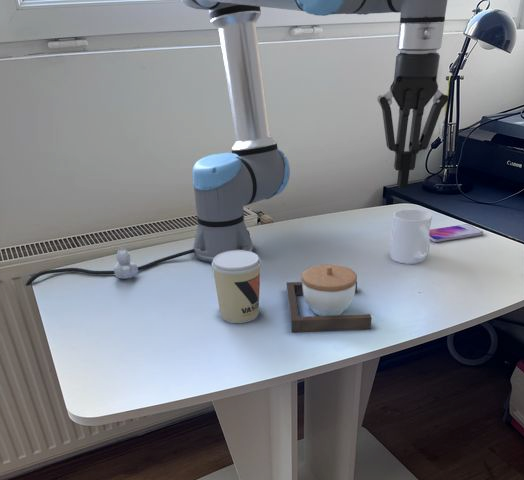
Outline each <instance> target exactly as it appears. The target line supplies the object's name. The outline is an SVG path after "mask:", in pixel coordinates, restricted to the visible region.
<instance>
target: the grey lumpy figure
mask: <svg viewBox="0 0 524 480" xmlns="http://www.w3.org/2000/svg"><path fill="white" fill-rule="evenodd" d="M115 256H116V261H117V262H116V264H115V265H114V266H113V271H114V273H115V274H114V276H116V277H117V278H119V279H125V280H126V279H131V278H133V277H135V276H136V275H137V274H138V272H139V271H138V267H139V266H138V265H137V263H136V262H135V261H133V260H131V254H130V252H129V251H128V250H127V248H123V246H122V245H120V249H118V250H117V253H116V255H115Z"/></svg>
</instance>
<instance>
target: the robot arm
mask: <svg viewBox="0 0 524 480" xmlns="http://www.w3.org/2000/svg"><path fill="white" fill-rule="evenodd" d="M179 1H180V2H181V3H183V4H184V5H185V6H187V7H189V8H191V9H194V10H203V11H204V10H207V11H208V15H209V19H210V20H209V21H210V23H211V24H212V25H213V27H215V28H216V29H217V30H218V33H219V35H218V36H219V40H220V47H221V53H222V59H223V60H222V61H223V66H224V73H225V78H226V85H227V86H226V87H227V92H228V97H229V104H230V109H231V116H232V125H233V131H234V135H235V142H234V144H233V145H232V147H231V152H220V153H217V154H216V153H214V154H210V155H209V154H208V155H206V156H204V157H202V158H200V159H198V160H197V161H196V162H195V163H194V165H193V167H192V186H193V190H194V201H195V210H196V219H197V226H196V232H195V237H194V242H193V248H192V249H188V250H184V251H181V252H177V253H175V254H171V255H167V256H165V257H162V258H159V259H156V260H154V261H151V262H149V263H146V264H143V265H140V266H137V267H138V272H139V271H142V270H146V269H148V268H151V267H153V266H156V265H158V264H161V263H163V262H166V261H170V260H174V259H176V258H179V257H183V256H187V255H190V254H193V256H194V257H195V258H196V259H197V260H199V261H200V262H204V263H210V264H212V262H213V259H214V257H215V256H217V255H218V254H220V253H223V252H227V251H233V250H244V251H250V252H253V253H254V245H253V241H252V239H251V234H250V231H249V230H248V229H247V226H246V223H245V215H244V207H245V206H246V207H247V206H249V205H251V204H255V203H257V202H261V201H264V200H269V199H272V198H273V197H275V196H277V195H279V194H281V193H282V192H283V191H284V190H285V188H286V187H287V185H288V183H289V180H290V175H291V173H290V172H291V168H290V162H289V160H288V159H289V158H288V157H287V156H285V153H284V152H283V151H282V150H281V149H279V148H278V141H277V140H276V139H274V138H273V137H272V136H271V133H270V126H269V117H268V111H267V103H266V102H267V101H266V94H265V86H264V78H263V71H262V64H261V63H262V62H261V55H260V49H259V48H260V46H259V41H258V39H259V38H258V33H257V32H258V31H257V25H256V24H257V22H258V20H259V19H260V17H261V15H262V12H261V11H262V10H261V8H270V9H279V10H280V9H281V10H288V11H297V12H304V13H306V14H308V15H314V16H319V17H320V16H321V17H322V16H325V17H326V16H329V15H331V16H332V15H364V16H365V15H369V14H370V15H371V14H372V15H373V14H388V13H389V14H390V13H400V17H399V29H398V37H397V46H396V47H397V50H398V51H400V52H399V53H398V54H397V55H396V56H395V65H394V75H393V81H392V83H391V85H390V87H389V90H388V91H387V92H385V93H384V94H381V95H378V97H377V98H376V99H377V102H378V104H379V106H380V108H381V112H382V113H381V114H382V120H383V129H384V135H385V141H386V142H385V144H386V147H387V149H388V150H389V151H391V152H394V153H395V154H394V161H393V163H394V164H393V167H394V170H395V171H398V172H397V180H396V186H397V187H398V188H399V189H408V185H409V178H410V171H414V170H415V168H416V161H417V154H419V152H421V151H425V150H427V149H428V147H429V144H430V142H431V139H432V136H433V133H434V131H435V128H436V126H437V122H438V120H439V118H440V116H441V115H440V114H441V112H442V110H443V108H444V107H445V105H446V104H447V103H448V102H449V100H450V97H449V95H447V94H445V93H443V92H442V91H440V90H439V84H438V81H437V80H438V73H439V66H440V59H441V56H440V53H439V52H438V50H440V49H441V48H442V43H443V35H444V29H445V22H446V12H447V5H448V0H179ZM393 99H394V101H395V103H396V104H397V106H398V107H399V108H398V123H397V132H396V137H395V132H394V131H395V130H394V123H393V114H392V108H391V105H392V103H393V101H392V100H393ZM430 101H432V105H431V107H430V110H429V113H428V115H427V118H426V120H425V124H424V127H423V129H422V122H423V115H424V113H425V107H426V106H427V105H428V103H429V102H430ZM411 110H412V117H411V124H410V125H411V126H410V134H409V140H408V141H409V143H408V150H405V149H406V141H407V140H406V139H407V133H408V124H409V116H410V114H411ZM421 129H422V132H421ZM395 138H396V140H395ZM67 272H68V273H69V272H75V273H76V272H77V273H83V274H88V275H97V276H98V275H101V276H102V275H115V273H114V270H92V269H85V268H80V267H63V268H54V269H45V270H42V271H39V272H37V273H35V274H34V275H32V276H31V277H30V278H29V279H28V280H27V281H26V283H25V286H26V287H28V286H31V284H32V283H33V282H34V281H35V280H36V279H38V278H40V277H42V276H45V275H49V274H58V273H67Z"/></svg>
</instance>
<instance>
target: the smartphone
mask: <svg viewBox="0 0 524 480" xmlns="http://www.w3.org/2000/svg"><path fill="white" fill-rule="evenodd" d="M483 235H484V231H483V230H480V229H479V228H478V227H476V226H473V225H471V224H469V223H465V224H457V225H451V226H445V227H437V228H430V233H429V236H430V241H432V242H434V243H441V242H447V241H453V240H458V239H465V238H470V237H478V236H483Z"/></svg>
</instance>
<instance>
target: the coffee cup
mask: <svg viewBox="0 0 524 480" xmlns="http://www.w3.org/2000/svg"><path fill="white" fill-rule="evenodd" d="M261 265H262V261H261V259H260V256H259V255H258V254H257V253H255V252H254V251H253V252H250V251H244V250H233V251H227V252H223V253H220V254H218V255H217V256H215V257H214V259H213V262H212V263H211V267H212V271H213V278H214V285H215V289H216V297H217V302H218V303H217V304H218V307H219V308H218V309H219V313H220V314H219V315H220V317H221V319H222V320H223V321H225V322H227V323H230V324H246V323H248V322H252V321H254V320H256V318H257V317H258V316H259V313H260V291H261V289H260V288H261V287H260V286H261Z"/></svg>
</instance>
